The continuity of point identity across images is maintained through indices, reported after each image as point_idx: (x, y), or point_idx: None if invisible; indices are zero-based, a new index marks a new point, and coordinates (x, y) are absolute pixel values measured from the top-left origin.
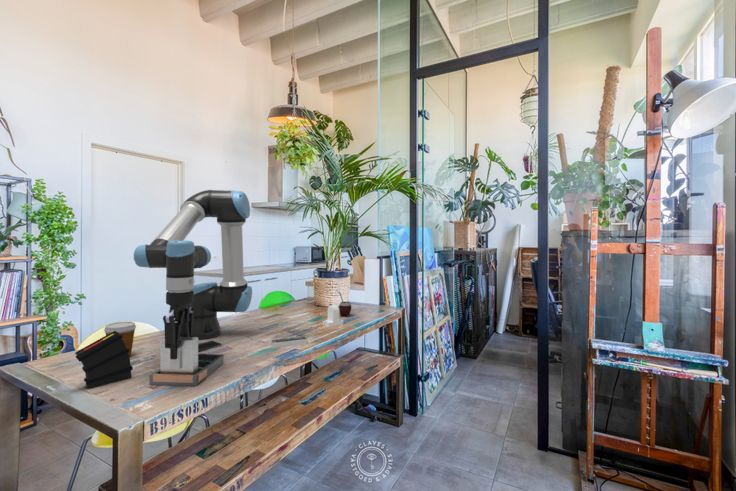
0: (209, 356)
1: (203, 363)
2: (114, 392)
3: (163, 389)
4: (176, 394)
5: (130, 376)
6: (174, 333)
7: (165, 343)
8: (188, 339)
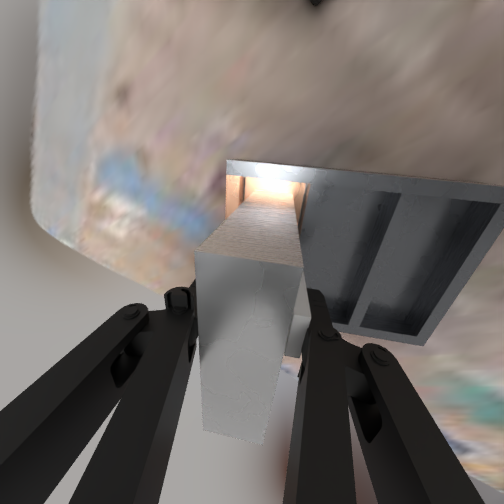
0: (433, 301)
1: (354, 297)
2: (167, 52)
3: (207, 222)
4: (183, 266)
5: (313, 1)
6: (61, 461)
7: (99, 330)
8: (218, 413)
